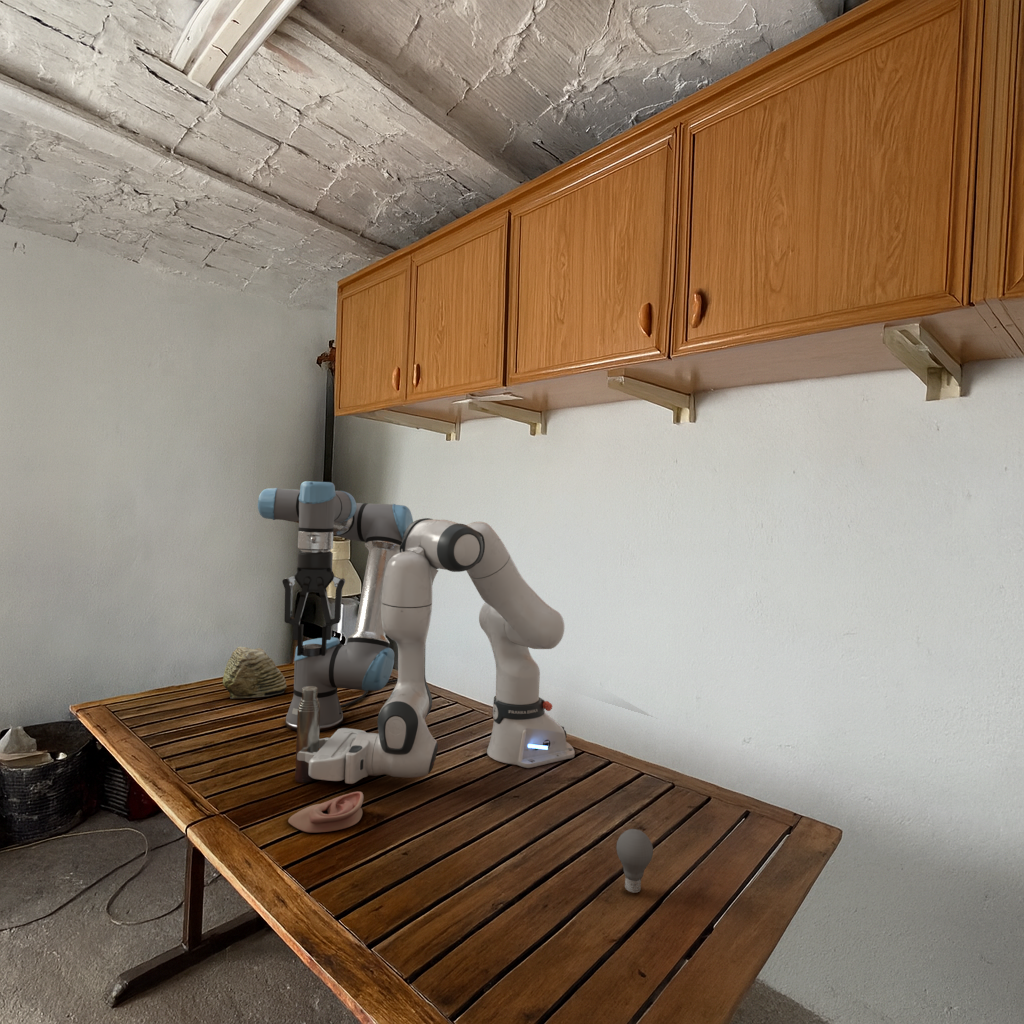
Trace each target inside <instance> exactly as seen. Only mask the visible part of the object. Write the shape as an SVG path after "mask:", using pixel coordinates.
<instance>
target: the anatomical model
mask: <svg viewBox="0 0 1024 1024" xmlns="http://www.w3.org/2000/svg"><path fill="white" fill-rule="evenodd" d="M363 793H364V792H362V791H353V792H349V793H346V794H343V795H340V796H336V797H334V798H332V799H330V800H327V801H324V802H322V803H317V804H312V805H310V806H306V807H304V808H302V809H300V810H299V811H297V812H296V813H294V814H292V815H291V816H290V817H289V818H288V820H287V822H288V824H289V825H291V826H292V827H294V828H295V829H297V830H299V831H301V832H305V833H308V834H309V833H310V834H311V833H326V832H327V833H328V832H334V831H339V830H344V829H347V828H350V827H352V826H354V825H356V824H358V823H359V822H360V820H361V819H362V817H363V809H362V805H363V803H364V794H363Z"/></svg>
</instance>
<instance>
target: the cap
mask: <svg viewBox="0 0 1024 1024" xmlns="http://www.w3.org/2000/svg"><path fill="white" fill-rule="evenodd" d="M321 652H322V645H320V644H306V645H303V646H302V648H301V655H302V656H307V657H315V656H320V655H321Z"/></svg>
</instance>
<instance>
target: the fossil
mask: <svg viewBox="0 0 1024 1024" xmlns="http://www.w3.org/2000/svg"><path fill="white" fill-rule="evenodd" d="M222 676H223V677H222V685H223V687H224V688H225V690H226V691H228V693H229V698H230V699H250V698H264V697H271V696H275V695H281V694H284V693H285V691H286V689H287V687H288V686H287V680H286V678H285V676H284V674H283V673H282V672H281V669H279V668H278V667H277V665H276V663H275V662H274V660H273V659H272V658H271V657H270V656H269V655H268V654H267V653H266V652H265V650H264V649H263V648H260V647H258V648H251V647H247V646H246V647H245V646H238V647H237V648H236V649H235V650H233V651H232V653H231V656H230V657H229V659H228V660H227V663H226V666H225V668H224V671H223V675H222Z"/></svg>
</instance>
